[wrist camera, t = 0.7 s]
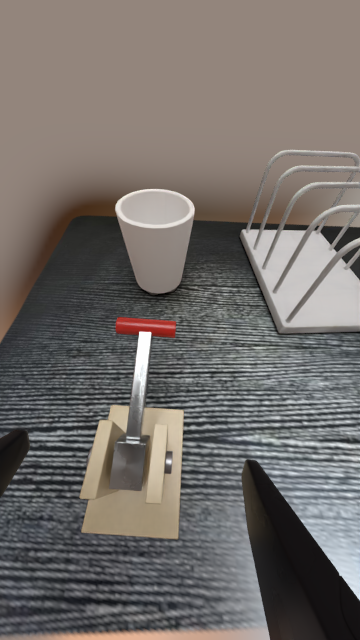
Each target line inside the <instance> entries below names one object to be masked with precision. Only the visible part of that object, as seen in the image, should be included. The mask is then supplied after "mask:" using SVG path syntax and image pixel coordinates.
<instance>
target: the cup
mask: <svg viewBox="0 0 360 640" xmlns="http://www.w3.org/2000/svg"><path fill="white" fill-rule="evenodd" d="M194 210H195V209H194V205H193V203H192V202H191V201H190V200H189V199H188V198H187V197H185V196H183V195H182V194H179V193H176V192H173V191H169V190H161V189H145V190H139V191H136V192H132V193H130V194H127V195H125V196H124V197H122V198H121V199H120V200H119V201H118V202H117V204H116V214H117V217H118V221H119V224H120V227H121V231H122V234H123V237H124V241H125V244H126V247H127V251H128V254H129V257H130V261H131V264H132V267H133V271H134V274H135V277H136V281H137V283H138V285H139V286H140V287H141V288H142V289H144V290H145V291H147V292H148V293H150V294H151V295H157V294H161V293H166V292H173V291H175V289H176V288H177V287H178V285H179V284H180V282H181V279H182V274H183V268H184V263H185V258H186V253H187V248H188V243H189V238H190V233H191V228H192V223H193V218H194Z"/></svg>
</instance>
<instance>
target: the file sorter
mask: <svg viewBox="0 0 360 640" xmlns="http://www.w3.org/2000/svg"><path fill="white" fill-rule="evenodd" d="M284 155H301V156H328V157H349V158H353V159H354V161H355V166H354V167H346V166H344V167H343V166H296V167H293V168H291V169H289V170H287V171H286V172H285V173H284V174H283V175H282V176H281V177H280V178H279V180H278V181H277V183H276V185H275V187H274V190H273V193H272V195H271V198H270V201H269V204H268V207H267V210H266V213H265V215H264V218H263V221H262V224H261V227H260V230H249V229H250V226H251V223H252V220H253V217H254V214H255V211H256V208H257V205H258V202H259V199H260V196H261V193H262V189H263V186H264V183H265V181H266V178H267V175H268V172H269V169H270V167H271V165H272V164H273V163H274V162H275V160H277V159H278V158H279V157H282V156H284ZM359 164H360V159H359V157H358V156H357V155H356V154H355V153H349V152H348V153H347V152H329V151H328V152H327V151H304V150H284V151H281V152H279V153H277V154H276V155H275V156H274V157H273V158H272V159H271V160H270V161H269V163H268V165H267V167H266V169H265V172H264V175H263V178H262V181H261V184H260V187H259V191H258V194H257V197H256V200H255V203H254V206H253V210H252V213H251V216H250V219H249V222H248V226H247V229H246V230H242V231H241V234H240V239H241V241H242V243H243V246H244V248H245V251H246V253H247V256H248V258H249V260H250V263H251V265H252V268H253V270H254V273H255V275H256V278H257V280H258V283H259V285H260V287H261V290H262V292H263V295H264V297H265V300H266V302H267V305H268V307H269V310H270V312H271V315H272V317H273V319H274V322H275V324H276V327H277V330H278V332H279V333H319V332H360V280H359V279H358V278H357V277H356V275H355V274H354V273H353V272H352V271H351V269H350V268H349V267H350V266H351V265H352V263H353V262H354V261H355V260H356V259H357V258H358V256H359V255H360V249H359V250H358V251H357V253H356V254H355V255H354V256H353V258H352V259H351V260H350V261H349V262H348V264H347V265H346V263H345V262H344V261H343V260H342V257H343V256H344V255H345V254H346V253H348V252H349V251H350V250H352V249H353V248H355V247H357V246H359V245H360V238H358V239H356V240H354V241H352V242H350V243H349V244H347V245H346V246H344V247H343V248H342V249H341V250H339V251H338V252H336V251H335V250H334V249H333V248H334V247H335V245H336V244H337V242H338V241H339V240H340V238H341V237H342V235H343V234H344V233H345V231H346V230H347V229H348V227H349V226H350V224H351V223H352V222H353V220H354V219H355V218H356V216H357V215H358V213H359V212H360V205H340V206H336V205H337V203H338V202H339V200H340V199H341V197H342V195H343V193H344V192H345V190H346V189H347V188H360V182H351V181H352V179H353V177H354V176H355V174H356V172H360V167H359ZM298 171H315V172H352V173H351V175H350V177H349V178H348V180H347V182H316V183H312V184H309V185H307V186H305V187H304V188H302V189H301V190H299V191H298V192H297V193H296V194H295V195H294V196H293V198H292V199H291V201H290V202H289V204H288V206H287V209H286V211H285V213H284V216H283V218H282V220H281V222H280V225H279V227H278V230H263V229H264V226H265V224H266V221H267V218H268V215H269V212H270V210H271V207H272V204H273V202H274V199H275V196H276V194H277V191H278V188H279V186H280V185H281V183H282V181H283V180H284V179H285V178H286V177H287V176H289V175H290V174H292V173H294V172H298ZM316 188H342V190H341V192H340V193H339V195H338V197H337V198H336V200H335V202H334V203H333V205H332V207H331V208H330V209H329V210H327V211H325V212H323V213H322V214H320V215H319V216H318V217H317V218H316V219H315V220H314V221H313V222H312V223H311V224H310V226H309V227H308V229H307V230H306V231H292V230H282V229H283V227H284V225H285V223H286V220H287V218H288V216H289V214H290V211H291V209H292V207H293V205H294V203H295V202H296V200H297V199H298V198H299V197H300V196H301V195H303V194H304V193H305V192H307V191H309V190H312V189H316ZM339 212H354V214H353V215H352V217H351V218H350V219H349V221H348V222H347V224H346V225H345V226H344V228H343V229H342V231H341V232H340V233H339V235H338V236H337V238H336V239H335V241H334V242H333V243H332V245H330V244H329V243H328V241H327V240H326V239H325V238H324V237H323V235H322V234H321V233H320V231H321V229H322V228H323V226H324V224H325V222H326V221H327V220H328V218H329V216H330V215H332V214H335V213H339ZM323 219H324V220H323ZM322 220H323V221H322ZM321 221H322V223H321V225H320V226H319V228H318V230H317V231H313V230H314V228H315V227H316V226H317V225H318V224H319V223H320V222H321Z"/></svg>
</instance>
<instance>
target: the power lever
mask: <svg viewBox="0 0 360 640" xmlns="http://www.w3.org/2000/svg"><path fill="white" fill-rule="evenodd" d="M175 332H176V321H165V320H151V319H138V318H124V317H118V319H117V321H116V333H117V334H128V335H139V336H138V344H137V351H136V359H135V367H134V375H133V383H132V391H131V398H130V406H129V414H128V422H127V430H126V434H125V433H123V434H122V435H121V436H120V437H119V438H118V439H117V440H116V441H115V446H114V453H113V460H112V467H111V474H110V481H109V489H119V490H133V491H142V488H143V484H144V481H145V478H146V473H147V462H148V452H149V442H150V435H142V432H143V423H144V414H145V405H146V395H147V386H148V377H149V367H150V358H151V349H152V340H153V336H156V337H169V338H175Z"/></svg>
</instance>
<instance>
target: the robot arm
mask: <svg viewBox="0 0 360 640" xmlns="http://www.w3.org/2000/svg"><path fill="white" fill-rule="evenodd" d="M29 448H30V442H29V436H28V432H27V431H25V430H15V431H13V432H11V433H9V434H7V435H5V436H4V437H2V438H0V497H1V496H2V494H3V493H4V491H5V490H6V488H7V486H8V485H9V483H10V481H11V480H12V478H13V476H14V475H15V473H16V471H17V470H18V468H19V466H20V465H21V463H22V461H23V460H24V458H25V456H26V455H27V453H28V451H29ZM242 487H243V495H244V504H245V512H246V520H247V528H248V534H249V539H250V544H251V548H252V553H253V558H254V563H255V568H256V573H257V578H258V582H259V587H260V592H261V597H262V602H263V607H264V611H265V616H266V621H267V626H268V631H269V635H270V640H360V601H359V599H358V598H357V597H356V595H355V594H354V593H353V591H352V590H351V589H350V587H349V586H348V584H347V583H346V582H345V580H344V579H343V578H342V576H339V572H338V571H337V570H336V568H335V567H334V565H333V564H332V563H331V561H330V560H329V559H328V557H327V556H326V555H325V553H324V552H323V550H322V549H321V548H320V546H319V545H318V544H317V542H316V541H315V540H314V538H313V537H312V535H311V534H310V533H309V531H308V530H307V529H306V527H305V526H304V525H303V523H302V522H301V520H300V519H299V518H298V516H297V515H296V514H295V512H294V511H293V510H292V508H291V507H290V505H289V504H288V503H287V501H286V500H285V499H284V497H283V496H282V495H281V493H280V492H279V490H278V489H277V488H276V486H275V485H274V484H273V482H272V481H271V480H270V478H269V477H268V475H267V474H266V473H265V471H264V470H263V469H262V467H261V466H260V465H259V463H258V462H257V461H255V460H248V459H247V460H246V461H245V464H244V468H243V471H242Z"/></svg>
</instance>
